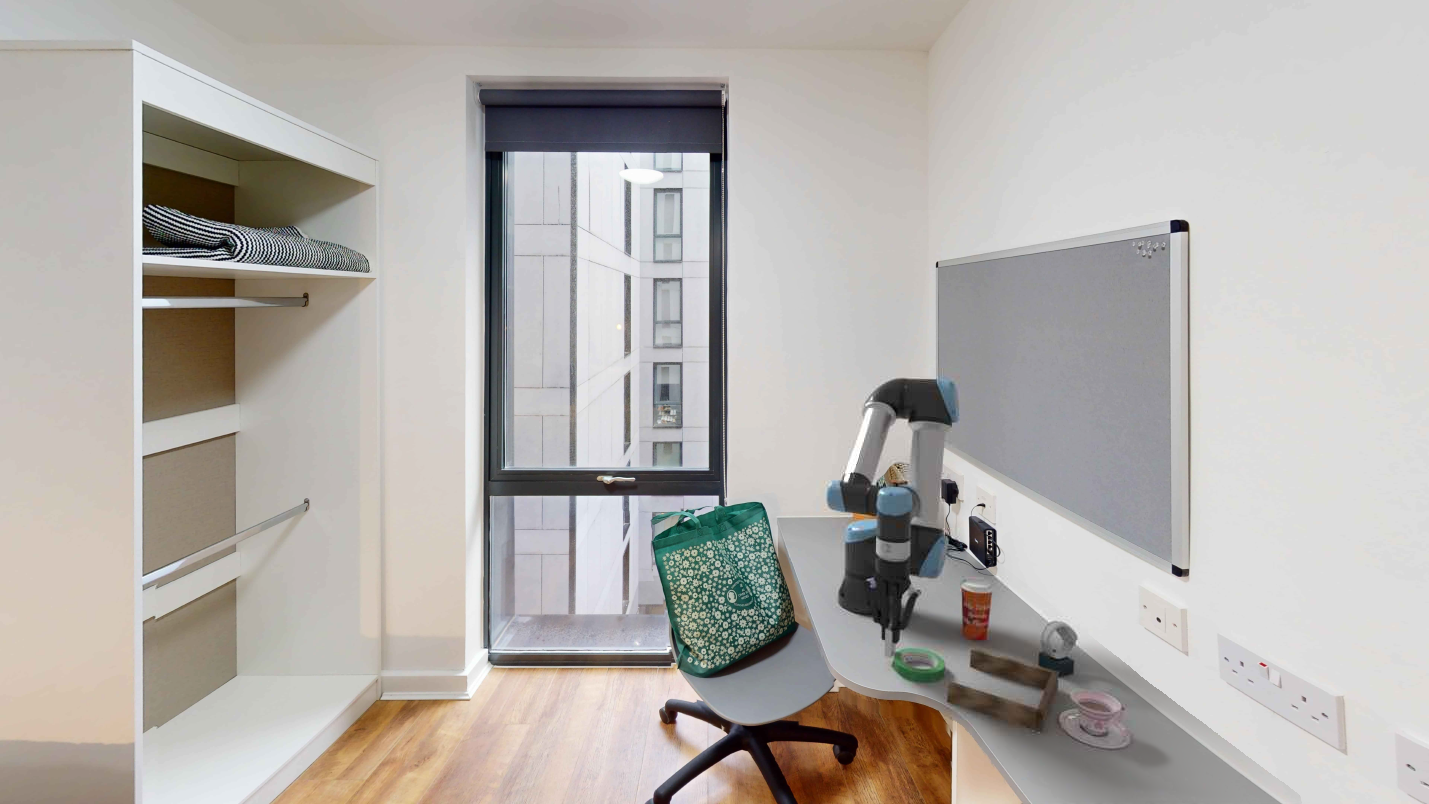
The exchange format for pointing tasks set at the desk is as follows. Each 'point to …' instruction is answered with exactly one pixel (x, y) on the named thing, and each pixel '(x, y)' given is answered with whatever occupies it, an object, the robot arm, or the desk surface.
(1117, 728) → the teacup
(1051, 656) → the watch
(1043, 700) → the u-shaped wooden frame
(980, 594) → the paper cup
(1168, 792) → the desk surface
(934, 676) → the tape roll
